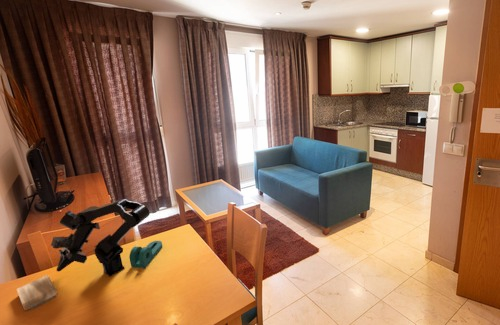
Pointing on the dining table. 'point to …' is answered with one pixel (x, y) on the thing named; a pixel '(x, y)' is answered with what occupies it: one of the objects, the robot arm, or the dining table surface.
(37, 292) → the beige streaked flat block
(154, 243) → the bracket
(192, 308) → the dining table surface
